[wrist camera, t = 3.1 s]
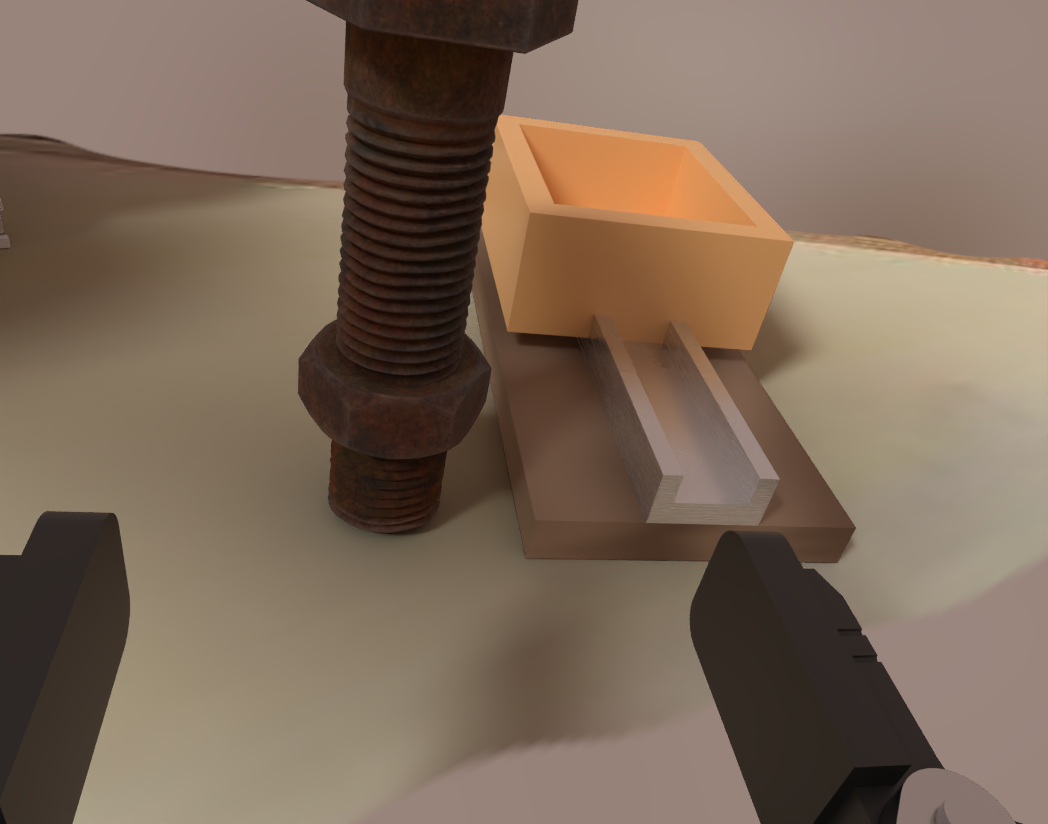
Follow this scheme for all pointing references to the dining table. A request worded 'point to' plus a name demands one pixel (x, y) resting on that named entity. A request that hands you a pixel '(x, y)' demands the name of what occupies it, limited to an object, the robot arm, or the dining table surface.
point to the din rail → (678, 429)
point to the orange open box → (625, 236)
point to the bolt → (412, 244)
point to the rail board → (596, 464)
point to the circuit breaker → (3, 240)
